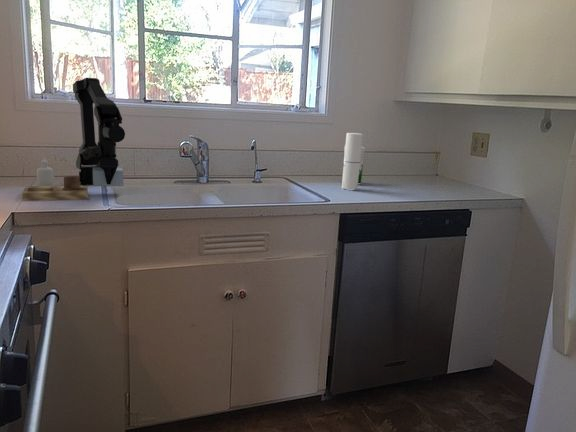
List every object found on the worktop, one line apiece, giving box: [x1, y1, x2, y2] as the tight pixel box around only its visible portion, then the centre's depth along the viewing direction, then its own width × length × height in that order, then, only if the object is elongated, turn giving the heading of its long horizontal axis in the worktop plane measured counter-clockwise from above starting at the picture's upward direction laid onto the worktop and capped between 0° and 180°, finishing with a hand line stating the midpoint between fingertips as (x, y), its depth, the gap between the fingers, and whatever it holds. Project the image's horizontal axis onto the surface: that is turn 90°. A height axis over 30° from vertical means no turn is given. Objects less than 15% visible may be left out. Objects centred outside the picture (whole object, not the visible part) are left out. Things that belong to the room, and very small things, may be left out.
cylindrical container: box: [341, 132, 364, 190], centre depth 219 cm, size 7×7×25 cm
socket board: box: [21, 185, 89, 202], centre depth 171 cm, size 20×12×2 cm, turn 113°
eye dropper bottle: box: [36, 156, 55, 186], centre depth 179 cm, size 4×6×12 cm
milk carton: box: [341, 145, 366, 183], centre depth 236 cm, size 9×9×20 cm
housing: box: [93, 167, 124, 187], centre depth 178 cm, size 10×7×6 cm
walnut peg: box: [63, 175, 81, 191], centre depth 172 cm, size 5×4×7 cm
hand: (108, 182), depth 178 cm, fingers closed on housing, 7 cm apart
